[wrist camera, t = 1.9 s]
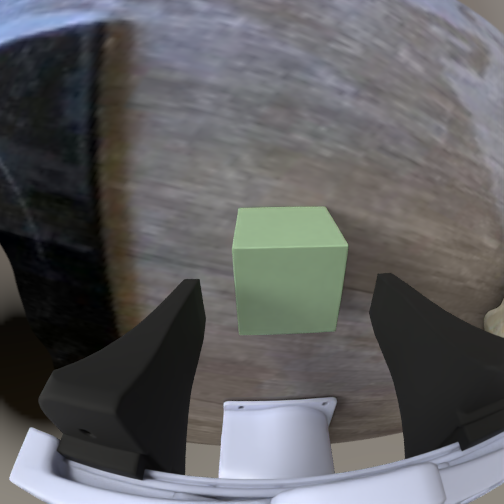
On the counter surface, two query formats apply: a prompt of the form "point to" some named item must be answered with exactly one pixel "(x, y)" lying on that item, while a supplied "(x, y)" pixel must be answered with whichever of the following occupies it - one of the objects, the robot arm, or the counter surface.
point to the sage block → (288, 270)
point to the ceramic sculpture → (495, 321)
